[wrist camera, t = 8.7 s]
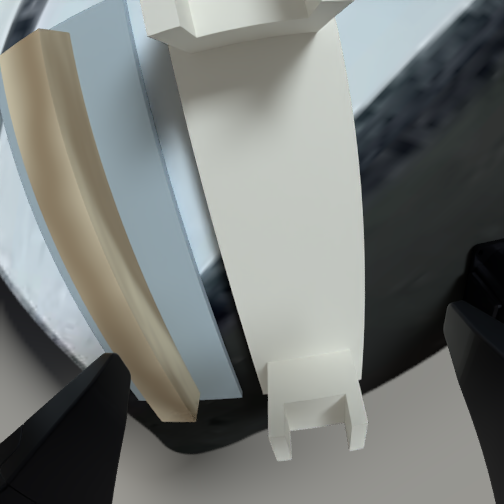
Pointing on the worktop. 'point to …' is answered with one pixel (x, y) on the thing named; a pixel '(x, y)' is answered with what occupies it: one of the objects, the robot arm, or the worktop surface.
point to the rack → (280, 193)
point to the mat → (137, 193)
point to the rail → (90, 218)
